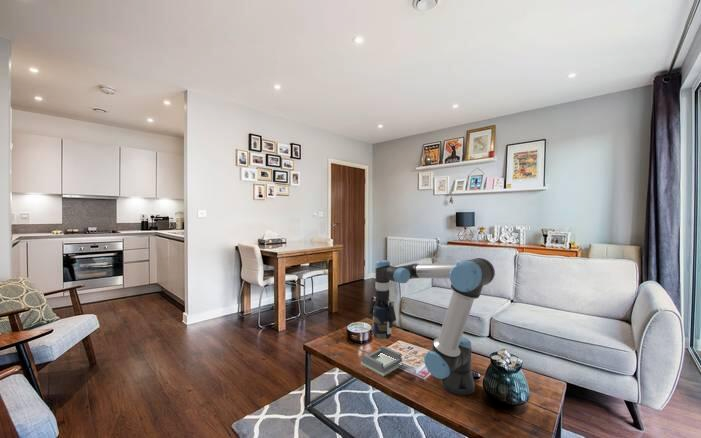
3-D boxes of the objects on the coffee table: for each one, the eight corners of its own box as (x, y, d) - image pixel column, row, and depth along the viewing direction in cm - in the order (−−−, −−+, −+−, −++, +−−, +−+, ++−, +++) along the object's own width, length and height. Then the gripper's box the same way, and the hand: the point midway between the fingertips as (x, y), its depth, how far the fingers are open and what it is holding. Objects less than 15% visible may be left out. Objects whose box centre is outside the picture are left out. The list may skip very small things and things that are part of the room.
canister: (391, 341, 152) (392, 307, 152) (373, 340, 152) (373, 306, 152) (389, 333, 162) (390, 301, 161) (372, 333, 162) (372, 301, 162)
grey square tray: (402, 364, 157) (402, 354, 157) (383, 376, 146) (383, 365, 146) (380, 354, 169) (380, 344, 169) (360, 364, 158) (360, 354, 158)
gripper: (403, 292, 151) (403, 334, 152) (371, 284, 167) (371, 322, 168) (394, 295, 146) (394, 339, 146) (362, 286, 162) (362, 326, 163)
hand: (382, 330), depth 157 cm, fingers closed on canister, 9 cm apart
